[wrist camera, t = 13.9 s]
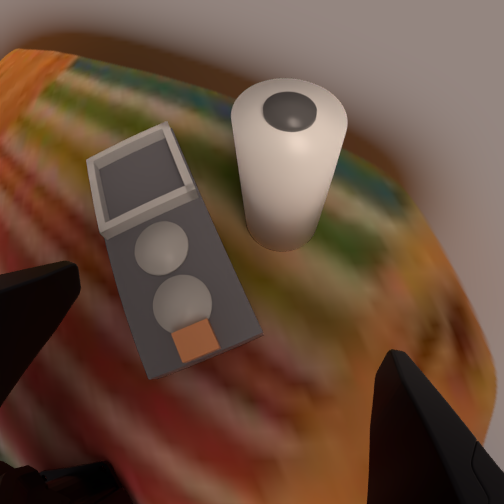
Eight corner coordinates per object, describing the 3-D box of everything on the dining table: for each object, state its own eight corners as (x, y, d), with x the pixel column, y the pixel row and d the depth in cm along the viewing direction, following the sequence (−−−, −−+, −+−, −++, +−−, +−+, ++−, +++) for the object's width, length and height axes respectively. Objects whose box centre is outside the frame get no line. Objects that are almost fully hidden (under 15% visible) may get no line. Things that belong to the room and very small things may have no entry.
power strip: (263, 335, 17) (262, 329, 15) (157, 378, 16) (141, 379, 14) (176, 141, 22) (168, 118, 20) (98, 177, 22) (84, 158, 19)
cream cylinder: (264, 263, 19) (261, 171, 10) (234, 203, 20) (213, 92, 11) (330, 233, 19) (371, 132, 10) (296, 178, 21) (310, 65, 12)
